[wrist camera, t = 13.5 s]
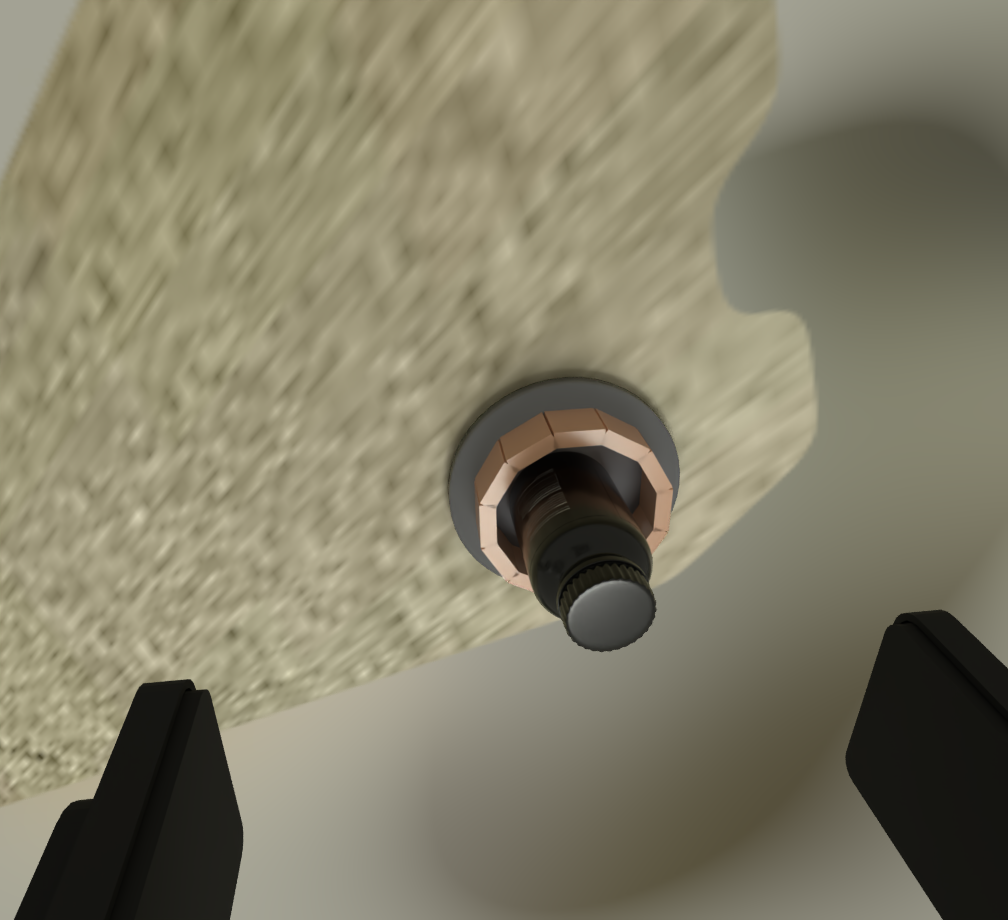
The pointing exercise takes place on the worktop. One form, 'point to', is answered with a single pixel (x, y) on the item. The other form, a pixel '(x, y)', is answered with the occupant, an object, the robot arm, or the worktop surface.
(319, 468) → the worktop surface
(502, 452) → the bottle holder
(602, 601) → the supplement bottle
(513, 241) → the worktop surface
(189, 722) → the robot arm
